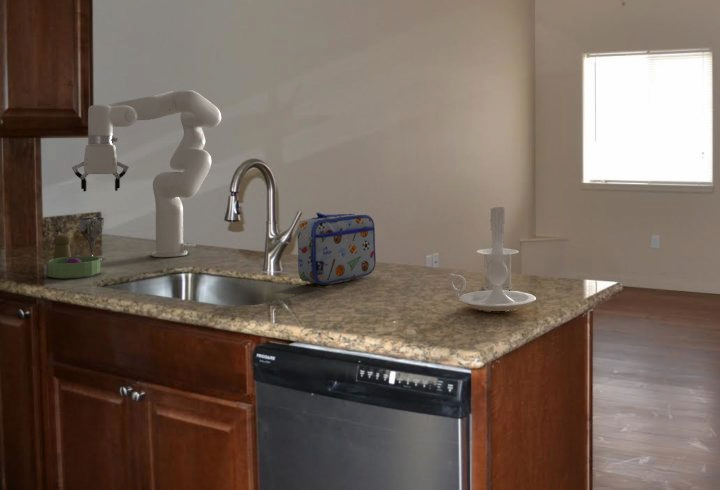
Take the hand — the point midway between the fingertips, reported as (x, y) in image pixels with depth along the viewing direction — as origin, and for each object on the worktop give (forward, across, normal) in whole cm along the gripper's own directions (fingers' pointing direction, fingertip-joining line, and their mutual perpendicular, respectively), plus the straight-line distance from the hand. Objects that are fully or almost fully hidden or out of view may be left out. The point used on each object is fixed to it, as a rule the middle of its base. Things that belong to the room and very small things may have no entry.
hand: (100, 190), depth 272 cm
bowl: (+26, +7, +14) cm, 31 cm away
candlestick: (+26, -99, +111) cm, 151 cm away
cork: (+26, +12, -5) cm, 30 cm away
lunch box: (+26, -69, +56) cm, 93 cm away
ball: (+23, +7, +14) cm, 28 cm away
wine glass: (+26, +4, -19) cm, 33 cm away
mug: (+26, -110, +88) cm, 143 cm away
